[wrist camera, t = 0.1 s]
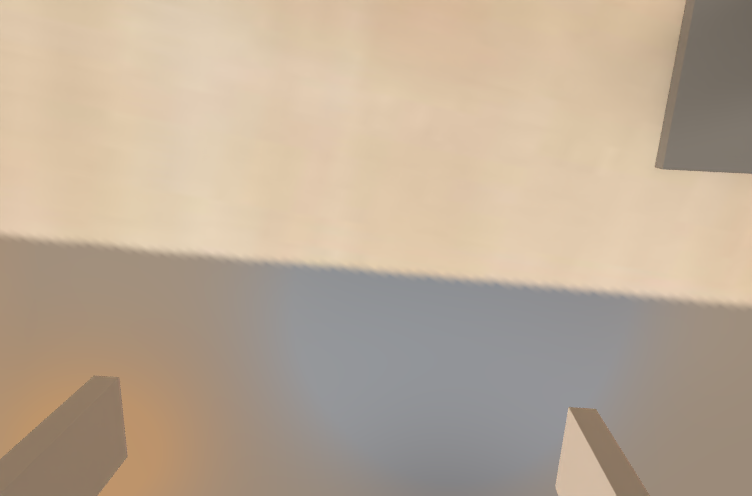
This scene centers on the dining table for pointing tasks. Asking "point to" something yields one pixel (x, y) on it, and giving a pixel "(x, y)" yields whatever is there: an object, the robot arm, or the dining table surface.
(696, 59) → the slate tile
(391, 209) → the dining table surface
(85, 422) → the robot arm
